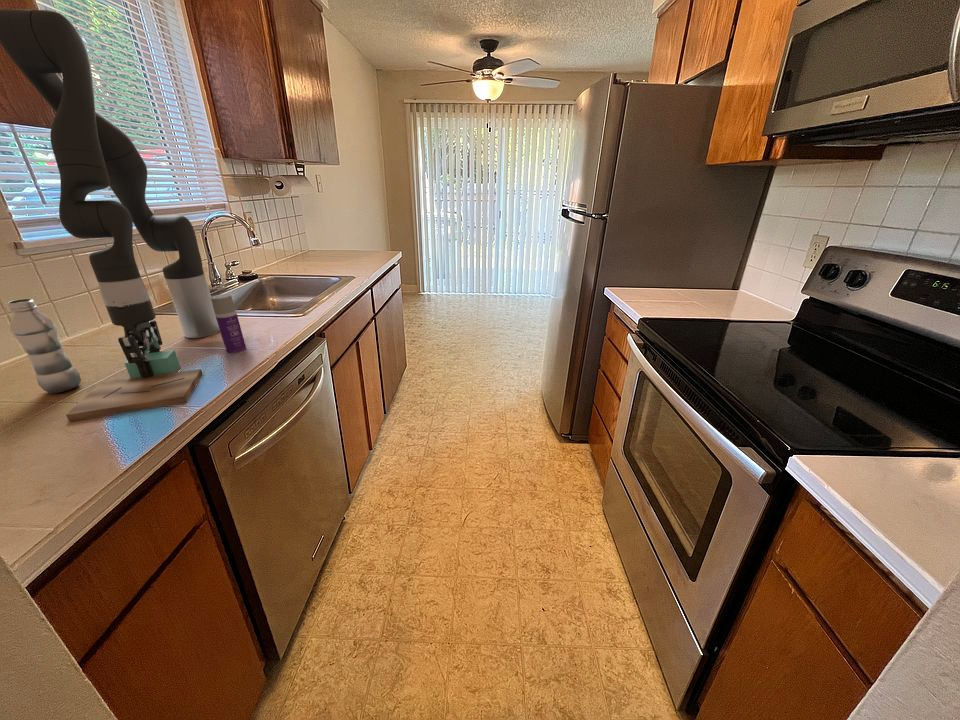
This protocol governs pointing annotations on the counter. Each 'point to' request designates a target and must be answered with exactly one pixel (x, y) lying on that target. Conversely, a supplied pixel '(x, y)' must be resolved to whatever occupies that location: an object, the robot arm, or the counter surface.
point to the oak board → (136, 394)
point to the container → (228, 324)
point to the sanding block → (157, 364)
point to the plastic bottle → (42, 347)
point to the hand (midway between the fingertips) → (153, 371)
